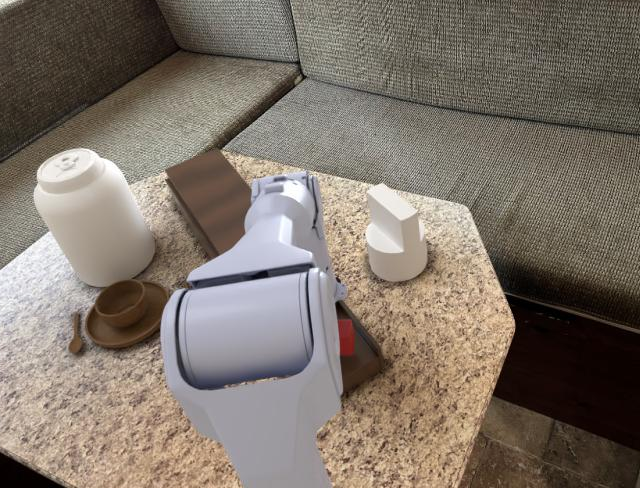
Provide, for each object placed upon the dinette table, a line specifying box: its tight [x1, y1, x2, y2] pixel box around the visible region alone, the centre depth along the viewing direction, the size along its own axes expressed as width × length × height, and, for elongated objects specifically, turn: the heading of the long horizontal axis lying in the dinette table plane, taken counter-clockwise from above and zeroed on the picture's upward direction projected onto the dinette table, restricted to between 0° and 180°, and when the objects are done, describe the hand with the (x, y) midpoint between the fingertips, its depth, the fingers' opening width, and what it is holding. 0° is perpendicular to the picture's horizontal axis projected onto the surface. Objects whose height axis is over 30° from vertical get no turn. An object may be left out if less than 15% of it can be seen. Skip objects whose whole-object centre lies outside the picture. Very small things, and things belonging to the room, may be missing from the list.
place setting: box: [67, 278, 189, 355], centre depth 85 cm, size 18×20×6 cm
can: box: [32, 147, 156, 288], centre depth 93 cm, size 12×12×20 cm
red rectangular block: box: [337, 319, 355, 355], centre depth 75 cm, size 7×3×4 cm, turn 89°
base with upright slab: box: [364, 182, 428, 283], centre depth 90 cm, size 9×9×12 cm
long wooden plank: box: [164, 147, 385, 396], centre depth 93 cm, size 54×11×6 cm, turn 34°
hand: (324, 340), depth 76 cm, fingers closed on red rectangular block, 3 cm apart
